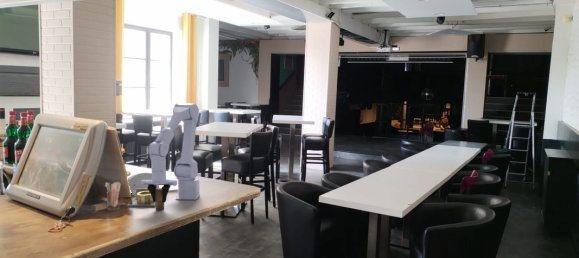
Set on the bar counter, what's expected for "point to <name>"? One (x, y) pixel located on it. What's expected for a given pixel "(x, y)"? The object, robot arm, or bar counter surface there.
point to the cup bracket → (142, 198)
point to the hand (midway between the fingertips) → (159, 201)
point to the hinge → (139, 181)
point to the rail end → (159, 199)
